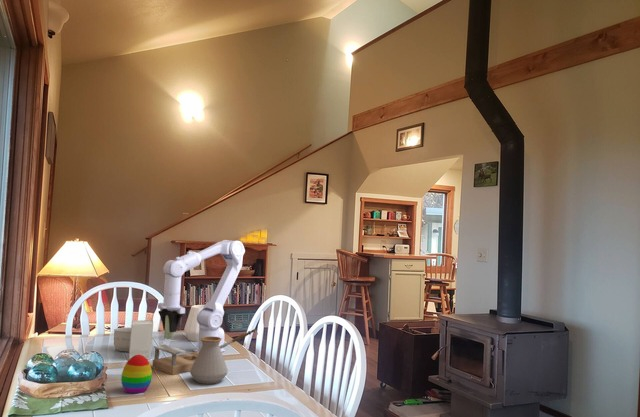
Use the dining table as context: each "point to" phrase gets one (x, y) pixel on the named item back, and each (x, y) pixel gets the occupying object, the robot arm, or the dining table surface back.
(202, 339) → the coffee pot
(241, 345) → the dining table surface
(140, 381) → the decorative egg
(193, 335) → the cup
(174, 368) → the socket board
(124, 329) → the teacup
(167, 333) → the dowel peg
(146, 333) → the supplement box
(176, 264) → the robot arm
